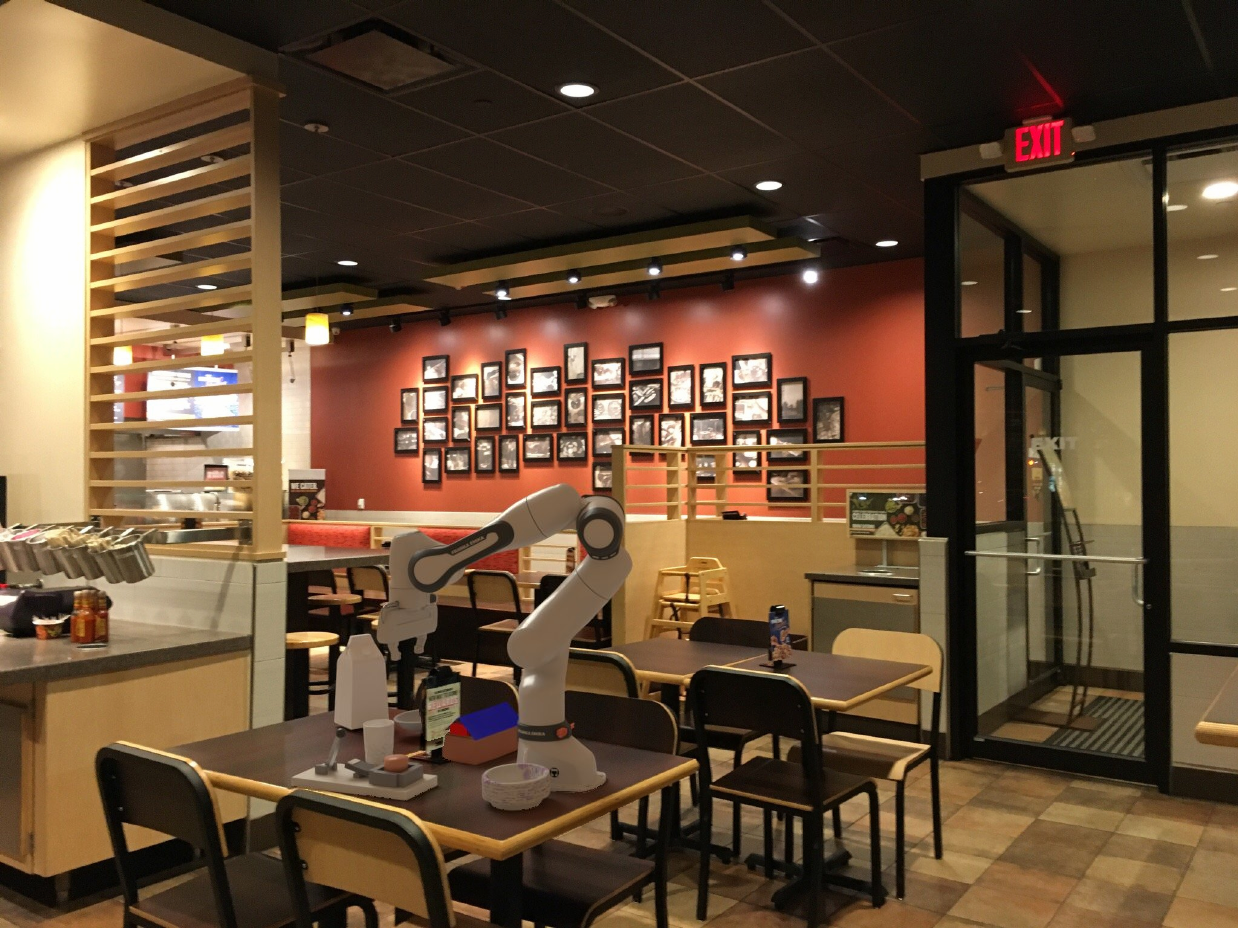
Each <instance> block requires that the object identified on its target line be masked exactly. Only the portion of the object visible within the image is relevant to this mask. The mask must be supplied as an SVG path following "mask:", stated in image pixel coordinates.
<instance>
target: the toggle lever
mask: <svg viewBox="0 0 1238 928" xmlns="http://www.w3.org/2000/svg"><path fill="white" fill-rule="evenodd" d="M346 736H347V731H346V729H345V728H342V727H339V728H338V729H336V732H335V737H334V740H333V742H332V745H331V747H330V751H329V752H328V755H327V758H326V760H325V761H326V763H325V765H328V771H329V770H331V769H332V766H333V763H334V761H336V757H337V756H338V753H339V750H340V747H341V745H342V743H343V740H344V738H345V737H346Z"/></svg>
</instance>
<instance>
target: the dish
mask: <svg viewBox="0 0 1238 928" xmlns="http://www.w3.org/2000/svg"><path fill="white" fill-rule="evenodd" d="M393 721H394V723H397V724H398V725H399V726H400V727H401V728H402V729H404V730H406V731H409V732H414V733H420V734H421V729H422V723H421V717H420V716H419V709H415V710H414V709H413V710H409V711H405V712H401V713H399V714H397V715H395V716H393Z"/></svg>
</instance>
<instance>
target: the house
mask: <svg viewBox="0 0 1238 928" xmlns="http://www.w3.org/2000/svg"><path fill="white" fill-rule="evenodd" d="M518 720H519V714H518V713H516V711H515V710H514V709H513V708H512V706H511V705H510V704H509V703H508V702H507V701H506V702H503V703H500V704H497V705H493V706H489V707H487V708H484V709H480V710H477V711H474V712H471V713H469V714H465V715H462V716H459V717H457V718H455V720H453V721H452V723H450V724H449V725H448V726H447V727H446V728H445V729H444V730H449V729H450V732H448V733H447V734H446V735H445V742H444V746H443V747H442V746H441V747H442V750H441V751H442V752H441V753H442V756H441V757H444V758H445V759H448V760H447V761H450V760H451V762H455V763H462V764H468V765H473V766H477V765H480V764H483V763H486V762H490V761H492V760H495V759H498V758H501V757H503V756H505V755H509V754H512V753H514V752H515V751H518V741H517V721H518ZM445 759H444V760H445Z"/></svg>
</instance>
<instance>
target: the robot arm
mask: <svg viewBox="0 0 1238 928" xmlns="http://www.w3.org/2000/svg"><path fill="white" fill-rule="evenodd" d="M625 517H626V516H625V511H624V508H623V506H622V504H621V503H620V502H619V501H618V500H617V499H616V498H615V497H613V496H611V495H606V494H582V495H580V493H579V491H578V490H577V489H576V488H575V487H573V486H572V485H571V484H569V483H567V482H566V483H564V482H561V483H556V484H555V485H554V484H553V485H551V486H547V487H545V488H544V487H543V488H542V489H540V490H537V491H534V492H533V493H531V494H529V495H527V496H525V497H523V498H521V499H519V500H517V501H516V502H515V503H513V504H511V505H510V506H508V508H506V509H505V510H503V511H502V512H501V513H500V514H498V515H497V516H496V517H494V518H493V519H492V520H491V521H490V522H488V523H487V524H485V525H484V526H483V527H481V528H479V529H478V530H476V531H474V532H473V533H470V534H468V535H466V536H464V537H462V538H459V539H458V540H456V541H454V542H453V543H450V544H446V543H443V542H440V541H437V540H435V539H433V538H431V537H430V536H428V535H427V534H426V532H423V531H421V530H416V531H409V532H404V533H400V534H399V533H398V534H396V535H395V536H394V537H393V538H392V539H391V541H390V547H389V559H388V560H389V561H388V570H389V573H390V581H389V583H388V602H387V603H384V604H383V607H382V608H381V609H380V612H379V616H378V619H377V628H376V639H377V642H378V643H379V644H387V648H388V650H389V652H390V660H391V661H399V660H401V659H402V657H401V655H402V653H401V652H400V651H399V648H398V647H399V644H400V642H401V641H405V640H409V639H412V638H416V644H415V645H413V646H414V647H413V648H414V650H413V652H414V653H415V654H417V655H418V654H422V653H424V652H425V651H424V647H425V643H426V640H427V638H428V637H427V635H428V634H431V633H433V632H435V631H436V629H437V627H438V605H437V603H438V602H439V595H438V594H437V593H435V592H439V591H440V590H441V589H442V588H445V587H448V586H450V585H453V584H455V583H457V582H458V581H460V580H461V579H462V578H463V576H464V574H465V573H466V570H467V567H469V566H471V565H473V564H474V563H477V562H479V561H481V560H483V559H486V558H487V557H489V556H492V555H495V554H497V553H502V552H506V551H507V552H508V551H512V550H517V549H523V548H526V547H529V546H532V545H536V544H537V543H540V542H543V541H545V540H547V539H548V538H551V537H552V536H555V535H557V534H558V533H559V532H563V531H567V530H569V531H570V530H571V531H572V530H573V531H576V535H577V538H578V541H579V542H580V544H581V546H582V547H583V548H584V549H585V551H586V553H587V554H586V556H585V557H584V558H583V560H582V561H581V562H580V563H579V564H578V565H577V566H576V567H575V568H574V570H573V571H572V572H570V574H569V575H568V576H567V577H566V578H565V579H564V580H563V581H562V583H560V585H559V586H558V587H557V588H556V589H555V590H554V591H553V592H551V594H550V595H548V597H546V599H544V600H543V602H541V604H539V605H538V606H537V607H536V608H535V609H534V610H533V611H532V612H531V613H530V614H529V615H528V616H527V617H526V618H525V619H524V620H523V621H522V622H521V623H520V624H519V625H518V626H517V627H516V628H515V629H514V630H513V632H511V635H510V636H509V637H508V641H507V645H506V646H507V647H506V649H507V655H508V657H509V658H510V660H511V661H512V663H514V664H515V665H516V666H518V667H520V668H523V671H522V677H521V681H520V683H519V686H518V716H519V720H518V721H517V741H518V750H517V755H516V756H517V757H516V762H515V763H530V764H537V765H541V766H544V767H546V768H547V769H548V770H549V771H550V792H556V791H578V792H580V791H581V792H582V791H587V790H590V789H594V788H596V789H598V788H599V787H598V786H600V785H601V786H602V785H603V784H604V783H606V781H607V775H606V773H605V772H602V771H598V769H597V761H596V757H595V754H594V752H592V750H589V748H587V747H586V745H584V744H582V743H581V742H580V741H579V740H578V739H576V737H574V736H573V735H572V734H573V733H572V732H573V731H572V730H573V728H575V726H574V725H575V722H572V723H569V722H568V721H567V719H566V718H565V716H566V715H565V713H566V712H565V710H566V709H565V707H566V706H565V691H566V690H565V689H566V687H565V686H566V677H567V671H568V664H569V656H570V654H569V653H570V646H571V642H572V639H573V638H574V637H575V636H576V635H577V634H578V633H579V632H580V631H581V630H582V629H583V628H584V627H585V626H586V625H587V624H589V623H590V622H591V620H592V619H594V618H595V616H596V615H597V614H598V613H599V612H600V611H601V610H602V609H603V607H604V606H605V605H606V604H608V603H609V601H610V600H611V599H612V598H613V597H614V596H615V594H617V592H618V591H619V589H620V588H621V587H622V585H623V584H624V583H625V581H626V579H628V577H629V575H630V573H631V571H632V569H633V559H632V556H631V555H630V553H629V552H628V551H627V549H626V548H624V546H622V544H621V543H622V539H623V534H624V530H625V528H626V527H625V526H626V521H625V520H626V518H625ZM601 786H600V787H601ZM597 787H598V788H597ZM594 790H595V789H594Z"/></svg>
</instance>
